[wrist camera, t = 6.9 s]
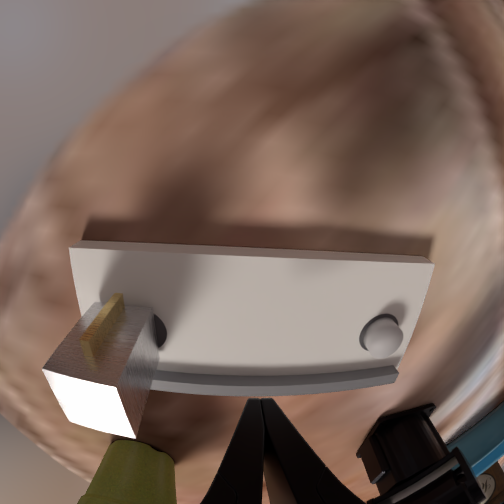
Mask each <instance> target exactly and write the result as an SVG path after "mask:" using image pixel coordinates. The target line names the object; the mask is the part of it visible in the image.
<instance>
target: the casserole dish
mask: <svg viewBox="0 0 504 504" xmlns="http://www.w3.org/2000/svg"><path fill="white" fill-rule="evenodd" d="M456 446H457V447H458V448H459V449H460V450H461V451H462V453H463V454H464V456H465V457H466V459H467V461H468V462H469V464H470V466H471V467H472V469H473V471H474V473H475V475H476V477H478V476H479V475H480V474H481V473H483V472H484V471H485V470H487V469H488V468H489V467H490V466H492V465H493V464H494V463H495V462H496V461H498V460H499V459H500V458H501V457H502V456H503V455H504V401H503V402H502V403H501V404H500V405H499V406H498V407H497V408H496V409H494V410H493V411H492V412H491V413H489V414H488V415H487V416H486V417H485V418H483V419H482V420H481V421H480V422H478V423H477V424H476V425H475V426H473V427H472V428H471V429H469V430H468V431H467V432H465V433H464V434H463V435H461V436H460V437H458V438H457V439H456V440H454V441H453V442H451V443H450V444H449V445H447V446H446V447H447V448H448V450H449V452H451V451H452V449H454V448H455V447H456ZM459 466H460V465H459V463H458V464H456V465H455V466H454V467H452V468H451V469H452V470H453V471H454V470H455V469H456V468H458V467H459ZM442 475H443V474H442ZM433 481H434V480H433Z"/></svg>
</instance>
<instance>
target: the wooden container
mask: <svg viewBox="0 0 504 504" xmlns="http://www.w3.org/2000/svg"><path fill="white" fill-rule="evenodd" d="M477 479H478V481H479V483H480V485H481V487H482V489H483V491H484V493H485V495H486V498H487V499H485V500H484V501H483V502H481V503H480V504H500V503H502V502H503V501H504V472H503V470H502V468H501V467H500V465H499V463H498V461H496V462H495V463H494V464H493V465H492V466H490V467H489V468H488V469H487V470H485V471H484V472H483V473H481V474H480V475H479V476H478V477H477Z"/></svg>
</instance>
